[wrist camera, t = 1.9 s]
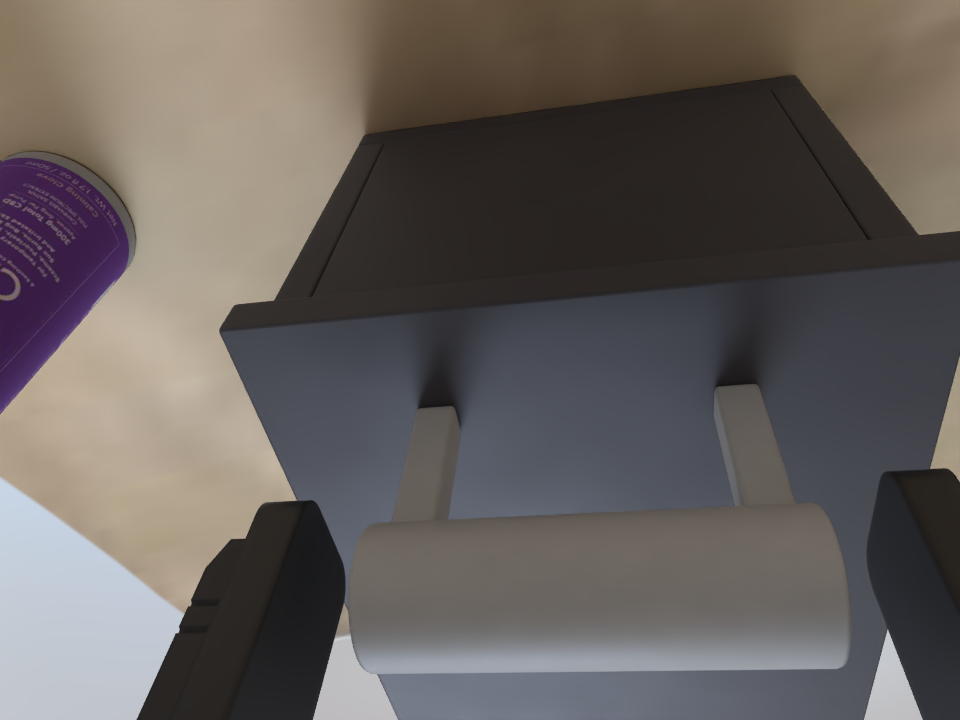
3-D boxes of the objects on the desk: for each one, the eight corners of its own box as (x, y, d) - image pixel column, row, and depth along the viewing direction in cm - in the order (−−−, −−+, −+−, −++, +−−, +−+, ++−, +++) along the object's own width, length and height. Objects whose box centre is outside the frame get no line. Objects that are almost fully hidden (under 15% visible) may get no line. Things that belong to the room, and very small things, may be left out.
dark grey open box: (363, 134, 21) (250, 338, 14) (796, 73, 19) (950, 273, 12) (454, 471, 29) (415, 719, 22) (766, 453, 27) (846, 719, 20)
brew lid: (233, 303, 13) (76, 558, 9) (963, 228, 11) (1211, 511, 7) (415, 721, 22) (379, 952, 17) (846, 721, 20) (924, 982, 15)
